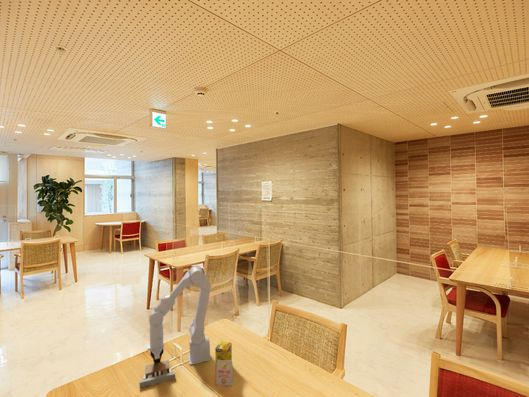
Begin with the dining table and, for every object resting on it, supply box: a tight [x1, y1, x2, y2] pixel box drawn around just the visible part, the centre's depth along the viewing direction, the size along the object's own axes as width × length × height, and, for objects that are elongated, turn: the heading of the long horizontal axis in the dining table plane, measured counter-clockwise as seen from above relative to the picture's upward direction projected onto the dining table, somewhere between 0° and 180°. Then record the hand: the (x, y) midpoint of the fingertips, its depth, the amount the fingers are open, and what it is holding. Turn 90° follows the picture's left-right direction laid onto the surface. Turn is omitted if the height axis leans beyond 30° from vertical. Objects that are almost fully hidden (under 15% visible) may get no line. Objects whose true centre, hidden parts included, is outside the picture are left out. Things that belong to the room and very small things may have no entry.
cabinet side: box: [139, 367, 176, 389], centre depth 117 cm, size 14×4×2 cm, turn 112°
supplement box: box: [214, 340, 233, 364], centre depth 124 cm, size 6×6×11 cm
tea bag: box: [214, 359, 234, 388], centre depth 115 cm, size 4×7×10 cm, turn 85°
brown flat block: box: [144, 359, 171, 379], centre depth 121 cm, size 10×9×3 cm
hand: (157, 365), depth 126 cm, fingers closed
